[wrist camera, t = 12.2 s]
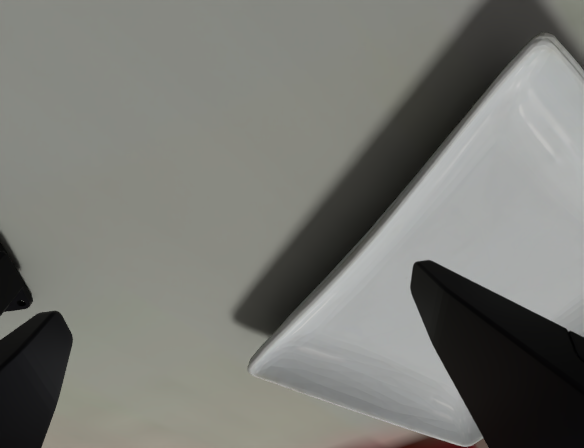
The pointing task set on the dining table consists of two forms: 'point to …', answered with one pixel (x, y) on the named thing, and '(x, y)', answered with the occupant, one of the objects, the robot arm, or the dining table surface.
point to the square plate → (452, 253)
